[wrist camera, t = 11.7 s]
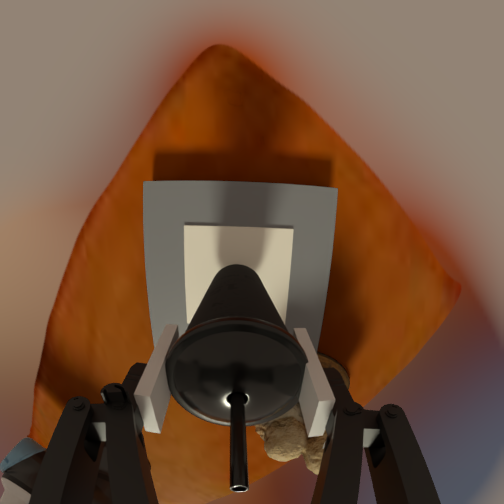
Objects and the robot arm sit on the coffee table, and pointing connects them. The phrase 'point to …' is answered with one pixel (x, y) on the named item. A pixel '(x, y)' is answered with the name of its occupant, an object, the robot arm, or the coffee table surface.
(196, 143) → the coffee table surface
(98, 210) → the coffee table surface
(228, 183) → the base
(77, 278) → the coffee table surface
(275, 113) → the coffee table surface
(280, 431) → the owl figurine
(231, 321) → the drinking cup
